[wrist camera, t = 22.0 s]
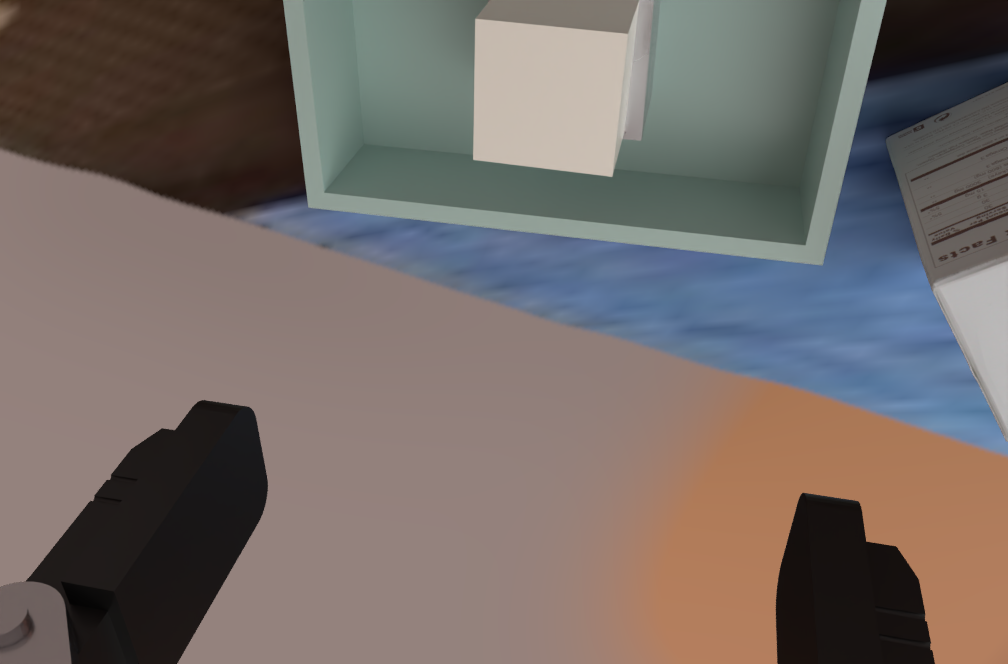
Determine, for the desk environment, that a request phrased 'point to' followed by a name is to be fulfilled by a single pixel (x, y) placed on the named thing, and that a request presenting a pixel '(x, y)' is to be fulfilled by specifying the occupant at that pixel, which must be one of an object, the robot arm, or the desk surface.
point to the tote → (640, 164)
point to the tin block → (642, 69)
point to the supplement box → (964, 227)
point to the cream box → (553, 82)
